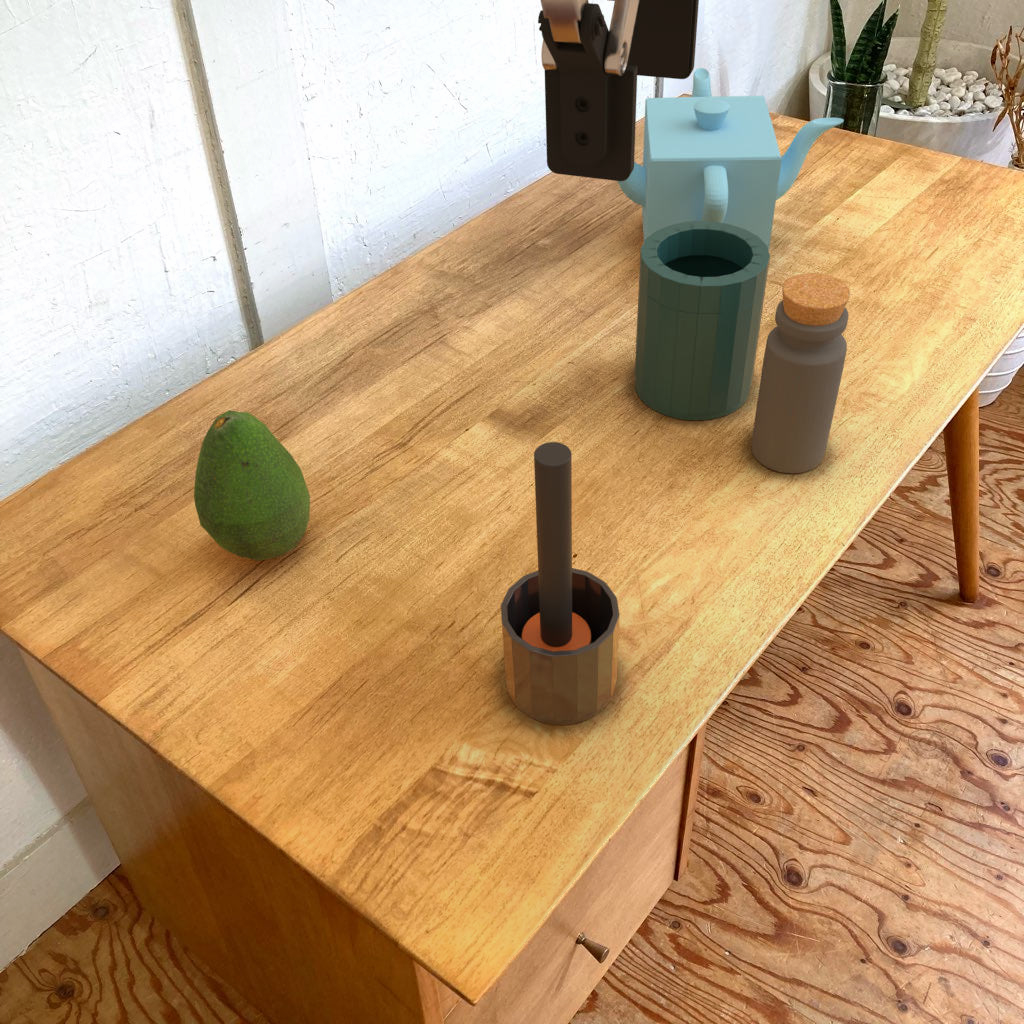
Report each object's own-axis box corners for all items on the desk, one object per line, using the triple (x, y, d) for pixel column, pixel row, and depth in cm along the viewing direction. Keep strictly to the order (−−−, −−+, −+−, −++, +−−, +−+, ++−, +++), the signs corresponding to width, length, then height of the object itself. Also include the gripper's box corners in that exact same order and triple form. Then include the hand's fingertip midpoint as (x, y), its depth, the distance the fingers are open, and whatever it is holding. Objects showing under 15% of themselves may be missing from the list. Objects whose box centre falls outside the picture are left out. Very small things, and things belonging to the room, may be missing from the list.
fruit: (281, 496, 83) (248, 373, 75) (340, 545, 79) (312, 421, 71) (194, 546, 80) (150, 423, 72) (251, 601, 75) (211, 476, 67)
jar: (760, 362, 94) (779, 229, 85) (738, 430, 87) (756, 294, 78) (650, 344, 96) (658, 214, 88) (621, 408, 90) (626, 274, 81)
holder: (628, 652, 71) (632, 581, 66) (597, 737, 66) (599, 668, 61) (527, 626, 73) (524, 556, 68) (490, 708, 68) (483, 638, 63)
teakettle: (709, 312, 100) (724, 165, 90) (571, 243, 110) (571, 104, 100) (829, 240, 109) (855, 99, 98) (691, 182, 119) (702, 49, 109)
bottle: (801, 484, 82) (833, 321, 72) (736, 454, 85) (758, 293, 74) (838, 446, 85) (873, 284, 75) (774, 418, 88) (800, 259, 78)
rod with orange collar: (598, 657, 70) (604, 436, 57) (579, 709, 67) (579, 488, 54) (536, 641, 71) (527, 421, 58) (514, 691, 68) (499, 471, 55)
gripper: (704, -452, 24) (664, 236, 35) (816, -474, 35) (758, 50, 47) (401, -435, 26) (458, 209, 38) (601, -461, 37) (597, 37, 49)
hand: (625, 120), depth 42 cm, fingers open, 9 cm apart
